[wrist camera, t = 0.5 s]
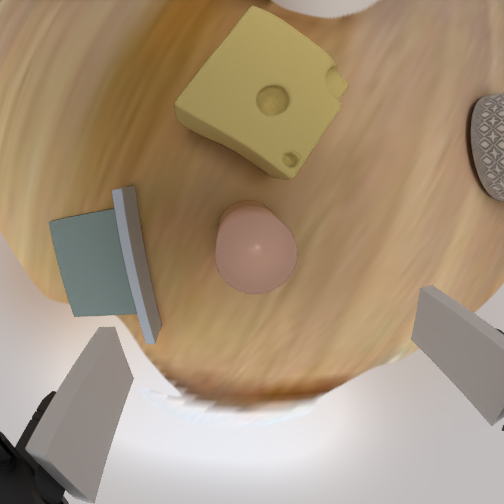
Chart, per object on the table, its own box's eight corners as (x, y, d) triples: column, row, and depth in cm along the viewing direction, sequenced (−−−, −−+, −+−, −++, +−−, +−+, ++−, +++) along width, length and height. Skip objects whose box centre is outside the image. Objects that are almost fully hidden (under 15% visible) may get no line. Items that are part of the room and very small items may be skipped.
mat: (51, 220, 27) (49, 221, 26) (116, 208, 27) (114, 209, 27) (76, 314, 30) (74, 316, 30) (138, 311, 31) (136, 313, 30)
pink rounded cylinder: (214, 204, 28) (210, 219, 20) (274, 198, 29) (295, 210, 20) (221, 260, 30) (220, 298, 21) (278, 254, 30) (298, 288, 22)
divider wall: (126, 187, 27) (111, 190, 23) (135, 185, 27) (121, 188, 23) (153, 325, 31) (146, 344, 28) (161, 324, 31) (155, 343, 28)
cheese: (326, 102, 26) (370, 77, 17) (269, 183, 28) (292, 190, 19) (243, 48, 24) (253, 0, 14) (182, 127, 26) (161, 107, 16)
